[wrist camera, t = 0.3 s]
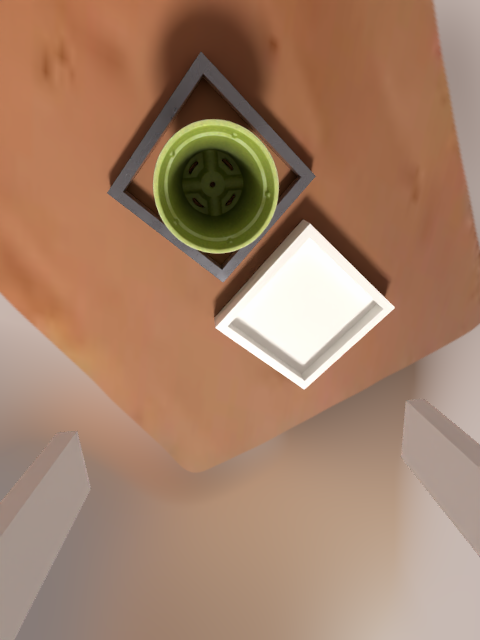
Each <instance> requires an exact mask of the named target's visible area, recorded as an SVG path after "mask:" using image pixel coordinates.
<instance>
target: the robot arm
mask: <svg viewBox="0 0 480 640" xmlns="http://www.w3.org/2000/svg"><path fill="white" fill-rule="evenodd" d="M401 458H402V460H403V461H404V462H405V463H406V465H407V466H408V467H409V468H410V470H411V471H412V472H413V473H414V475H415V476H416V477H417V478H418V480H419V481H420V482H421V483H422V485H423V486H424V487H425V488H426V490H427V491H428V492H429V493H430V495H431V496H432V497H433V499H434V500H435V501H436V502H437V504H438V505H439V506H440V507H441V509H442V510H443V511H444V512H445V514H446V515H447V516H448V517H449V519H450V520H451V521H452V522H453V524H454V525H455V526H456V527H457V529H458V530H459V531H460V533H461V534H462V535H463V536H464V538H465V539H466V540H467V541H468V543H469V544H470V545H471V546H472V548H473V549H474V550H475V552H476V553H477V554H478V555H479V556H480V445H479V444H478V443H477V442H476V441H475V440H474V439H472V438H471V437H470V436H469V435H467V434H466V433H465V432H464V431H463V430H461V429H460V428H459V427H458V426H457V425H455V424H454V423H453V422H452V421H450V420H449V419H448V418H447V417H446V416H445V415H443V414H442V413H441V412H440V411H438V410H437V409H436V408H435V407H434V406H432V405H431V404H430V403H429V402H428V401H426V400H425V399H417V400H407V401H406V406H405V418H404V430H403V443H402V456H401ZM90 489H91V487H90V483H89V479H88V474H87V471H86V466H85V462H84V458H83V454H82V449H81V445H80V441H79V436H78V432H77V431H71V432H60V433H57V434H56V435H55V436H54V437H53V439H52V440H51V441H50V442H49V444H48V445H47V446H46V447H45V448H44V450H43V451H42V452H41V453H40V455H39V456H38V457H37V458H36V460H35V461H34V462H33V463H32V464H31V466H30V467H29V468H28V469H27V470H26V472H25V473H24V474H23V475H22V477H21V478H20V479H19V480H18V482H17V483H16V484H15V485H14V486H13V488H12V489H11V490H10V491H9V493H8V494H7V495H6V496H5V497H4V499H3V500H2V501H1V502H0V640H14V639H15V637H16V635H17V633H18V631H19V629H20V627H21V626H22V623H23V621H24V620H25V618H26V615H27V614H28V612H29V610H30V608H31V606H32V604H33V602H34V600H35V598H36V596H37V593H38V592H39V590H40V588H41V586H42V584H43V582H44V580H45V578H46V576H47V574H48V572H49V570H50V568H51V566H52V564H53V562H54V560H55V558H56V556H57V555H58V553H59V551H60V549H61V547H62V545H63V543H64V541H65V539H66V537H67V535H68V533H69V531H70V529H71V527H72V525H73V523H74V521H75V519H76V517H77V515H78V513H79V511H80V509H81V507H82V505H83V503H84V501H85V499H86V497H87V495H88V493H89V491H90Z"/></svg>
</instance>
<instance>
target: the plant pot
mask: <svg viewBox="0 0 480 640" xmlns="http://www.w3.org/2000/svg"><path fill="white" fill-rule="evenodd" d="M222 159H226V160H227V161H228V162H229V163H230V164H231V165H232V167H233V170H230V169H229V167H228V166H227V165H226V164H225V163H223V162H222ZM194 162H198V164H197V166H196V167H195V168H194V169H193V171H192V173H191V174H189V169H190V167H191V166H192V164H193V163H194ZM211 182H215V186H214V187H211V186H210V183H211ZM153 191H154V198H155V203H156V207H157V210H158V212H159V215H160V217H161V219H162V220H163V222H164V224H165V225H166V227H167V228H168V229H169V230H170V231H171V233H172V234H173V235H174V236H175V237H176V238H178V239H179V240H180V241H181V242H183V243H185V244H186V245H188V246H190V247H191V248H194V249H196V250H199V251H203V252H207V253H228V252H232V251H236V250H238V249H241V248H243V247H245V246H247V245H249V244H250V243H252V242H253V241H254V240H255V239H257V238H258V237H259V236H260V235H261V233H262V232H263V231H264V230H265V229H266V227H267V226H268V224H269V223H270V221H271V219H272V217H273V215H274V212H275V209H276V206H277V201H278V194H279V181H278V174H277V169H276V166H275V163H274V161H273V158H272V156H271V154H270V153H269V151H268V149H267V148H266V146H265V145H264V144H263V143H262V142H261V140H260V139H259V138H258V137H257V136H255V135H254V134H253V133H252V132H250V131H249V130H248V129H246V128H244V127H243V126H241V125H238V124H236V123H233V122H230V121H226V120H220V119H206V120H200V121H197V122H193V123H191V124H189V125H187V126H185V127H183V128H182V129H180V130H179V131H178V132H176V133H175V134H174V135H173V136H172V137H171V138H170V139H169V140H168V142H167V143H166V144H165V146H164V148H163V149H162V151H161V153H160V155H159V157H158V160H157V162H156V166H155V170H154V177H153ZM233 194H235V198H234V199H233V200H232V203H231V204H230V205H228V206H226V203H227V202H228V201H229V200H230V198H231V197H232V195H233ZM193 198H196V200H197V201H198V202H199V203H200V204H202V206H204V208H201V207H199V206H197V205H196V204H195V203H194V202H193Z"/></svg>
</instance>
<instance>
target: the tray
mask: <svg viewBox="0 0 480 640" xmlns="http://www.w3.org/2000/svg"><path fill="white" fill-rule="evenodd" d="M394 308H395V307H394V306H393V305H392V304H391V303H390V302H389V301H388V300H387V299H386V298H385V297H384V296H383V295H382V294H381V293H380V292H379V291H378V290H377V289H376V288H375V287H374V286H373V285H371V284H370V283H369V282H368V281H367V280H366V279H365V278H364V277H363V276H362V275H361V274H360V273H359V272H358V271H357V270H356V269H355V268H354V267H353V266H352V265H351V264H350V263H349V262H348V261H347V260H346V259H345V258H344V257H343V256H342V255H341V254H340V253H339V252H338V251H337V250H336V249H335V248H334V247H333V246H332V245H331V244H330V243H329V242H328V241H327V240H326V239H325V238H324V237H323V236H322V235H321V234H320V233H319V232H318V231H317V230H316V229H315V228H314V227H313V226H312V225H311V224H310V223H308V222H307V221H305V220H304V219H303V220H302V221H301V222H300V223H299V224H298V225H297V226H296V228H295V229H294V230H293V231H292V232H291V233H290V234H289V235H288V236H287V238H286V239H285V240H284V241H283V242H282V243H281V244H280V245H279V246H278V248H277V249H276V250H275V251H274V252H273V253H272V254H271V255H270V256H269V258H268V259H267V260H266V261H265V262H264V263H263V264H262V265H261V266H260V268H259V269H258V270H257V271H256V272H255V273H254V274H253V275H252V277H251V278H250V279H249V280H248V281H247V282H246V283H245V284H244V285H243V287H242V288H241V289H240V290H239V291H238V292H237V293H236V294H235V295H234V297H233V298H232V299H231V300H230V301H229V302H228V303H227V304H226V305H225V307H224V308H223V309H222V310H221V311H220V312H219V313H218V314H217V315H216V317H215V318H214V320H215V328H216V329H218V330H219V331H221V332H222V333H223V334H225V335H226V336H228V337H229V338H231V339H232V340H234V341H235V342H236V343H238V344H239V345H241V346H242V347H244V348H245V349H247V350H248V351H249V352H251V353H252V354H254V355H255V356H257V357H258V358H260V359H261V360H262V361H264V362H265V363H267V364H268V365H270V366H271V367H273V368H274V369H275V370H277V371H278V372H280V373H281V374H283V375H284V376H286V377H287V378H288V379H290V380H291V381H293V382H294V383H296V384H297V385H299V386H300V387H301V388H303V389H305V388H307V387H308V386H309V385H310V384H311V383H312V382H313V381H314V380H315V379H317V378H318V377H319V376H320V375H321V374H322V373H323V372H324V371H325V370H327V369H328V368H329V367H330V366H331V365H332V364H333V363H334V362H335V361H337V360H338V359H339V358H340V357H341V356H342V355H343V354H344V353H345V352H347V351H348V350H349V349H350V348H351V347H352V346H353V345H354V344H355V343H357V342H358V341H359V340H360V339H361V338H362V337H363V336H364V335H365V334H366V333H368V332H369V331H370V330H371V329H372V328H373V327H374V326H375V325H376V324H378V323H379V322H380V321H381V320H382V319H383V318H384V317H385V316H386V315H388V314H389V313H390V312H391V311H392V310H393V309H394Z"/></svg>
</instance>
